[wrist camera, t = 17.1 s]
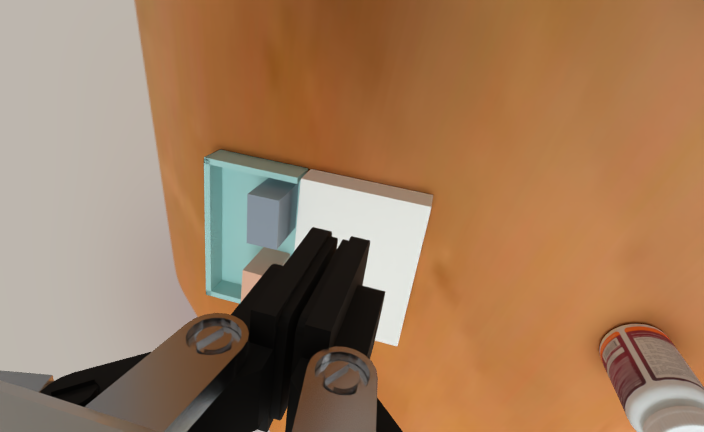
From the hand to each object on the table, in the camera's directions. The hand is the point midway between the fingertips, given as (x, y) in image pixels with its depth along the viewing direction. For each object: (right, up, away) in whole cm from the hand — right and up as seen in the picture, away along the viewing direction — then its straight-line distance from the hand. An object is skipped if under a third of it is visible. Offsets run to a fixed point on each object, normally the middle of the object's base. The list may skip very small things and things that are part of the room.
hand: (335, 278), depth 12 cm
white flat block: (+1, -2, +31) cm, 31 cm away
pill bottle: (+28, -11, +28) cm, 41 cm away
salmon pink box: (-7, -5, +31) cm, 32 cm away
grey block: (-6, +2, +28) cm, 28 cm away
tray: (-9, 0, +33) cm, 34 cm away
